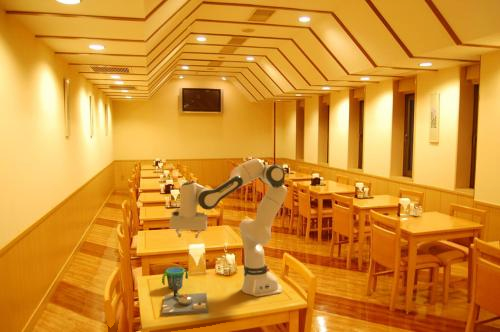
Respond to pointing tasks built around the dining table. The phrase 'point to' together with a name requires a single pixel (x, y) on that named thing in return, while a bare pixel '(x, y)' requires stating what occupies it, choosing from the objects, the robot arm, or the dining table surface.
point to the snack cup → (174, 276)
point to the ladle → (182, 296)
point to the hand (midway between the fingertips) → (188, 237)
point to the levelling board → (197, 305)
